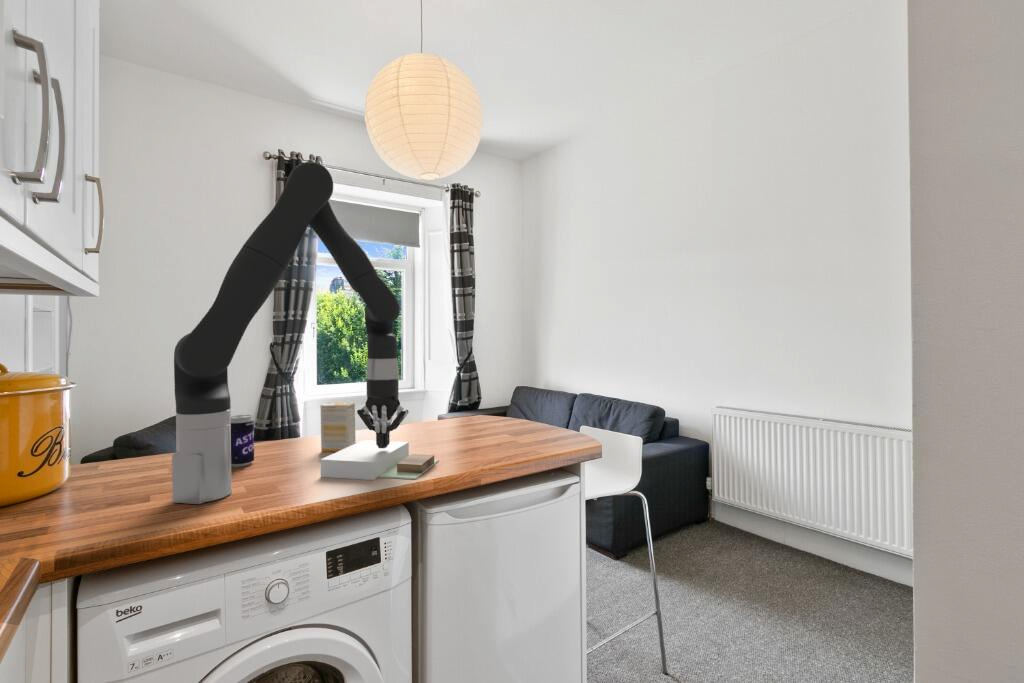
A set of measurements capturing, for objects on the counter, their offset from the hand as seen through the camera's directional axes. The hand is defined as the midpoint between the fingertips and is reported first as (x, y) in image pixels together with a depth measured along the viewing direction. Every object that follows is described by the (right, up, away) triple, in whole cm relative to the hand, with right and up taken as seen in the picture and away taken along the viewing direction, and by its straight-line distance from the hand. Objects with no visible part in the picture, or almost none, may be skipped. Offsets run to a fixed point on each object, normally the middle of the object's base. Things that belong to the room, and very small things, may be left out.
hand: (383, 447), depth 118 cm
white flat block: (-4, -5, +1) cm, 6 cm away
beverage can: (-36, -5, +3) cm, 37 cm away
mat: (+7, -5, -1) cm, 8 cm away
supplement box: (-17, -5, +17) cm, 25 cm away
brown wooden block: (+8, -3, -1) cm, 9 cm away
